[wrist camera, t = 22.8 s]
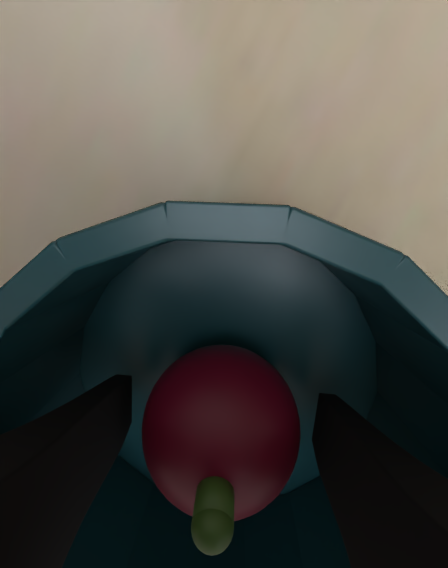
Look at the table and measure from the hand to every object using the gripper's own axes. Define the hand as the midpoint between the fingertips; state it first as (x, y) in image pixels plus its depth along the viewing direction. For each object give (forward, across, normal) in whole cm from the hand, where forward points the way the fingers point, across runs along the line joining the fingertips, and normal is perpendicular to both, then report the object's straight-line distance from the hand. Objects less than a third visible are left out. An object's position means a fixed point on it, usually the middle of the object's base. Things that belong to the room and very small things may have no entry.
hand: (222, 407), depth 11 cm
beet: (+2, 0, 0) cm, 2 cm away
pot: (+2, 0, 0) cm, 2 cm away
